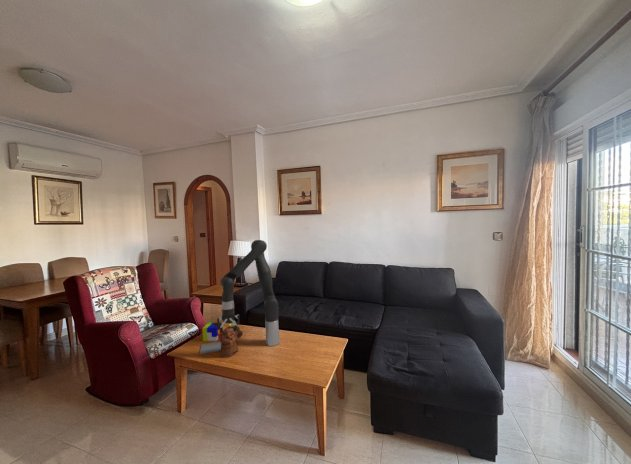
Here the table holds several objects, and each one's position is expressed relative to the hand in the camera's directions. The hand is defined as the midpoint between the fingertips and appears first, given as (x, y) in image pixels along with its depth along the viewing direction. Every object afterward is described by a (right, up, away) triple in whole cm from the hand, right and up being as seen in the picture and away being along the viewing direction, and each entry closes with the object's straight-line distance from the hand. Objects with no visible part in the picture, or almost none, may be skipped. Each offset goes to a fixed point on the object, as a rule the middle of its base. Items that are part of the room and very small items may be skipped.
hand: (228, 331), depth 167 cm
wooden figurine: (+1, -15, +1) cm, 15 cm away
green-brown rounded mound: (-7, -15, +28) cm, 33 cm away
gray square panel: (-15, -15, +9) cm, 23 cm away
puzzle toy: (-21, -15, +25) cm, 36 cm away
